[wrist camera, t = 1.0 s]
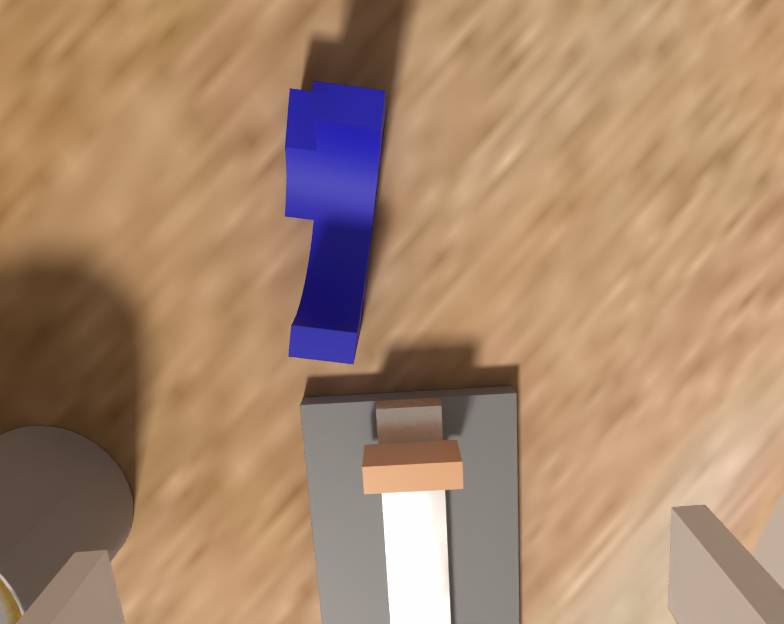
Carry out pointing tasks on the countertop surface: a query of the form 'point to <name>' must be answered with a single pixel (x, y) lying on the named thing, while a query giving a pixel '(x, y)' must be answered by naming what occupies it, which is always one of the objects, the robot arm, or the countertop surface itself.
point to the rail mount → (415, 505)
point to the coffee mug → (54, 509)
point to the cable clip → (333, 210)
